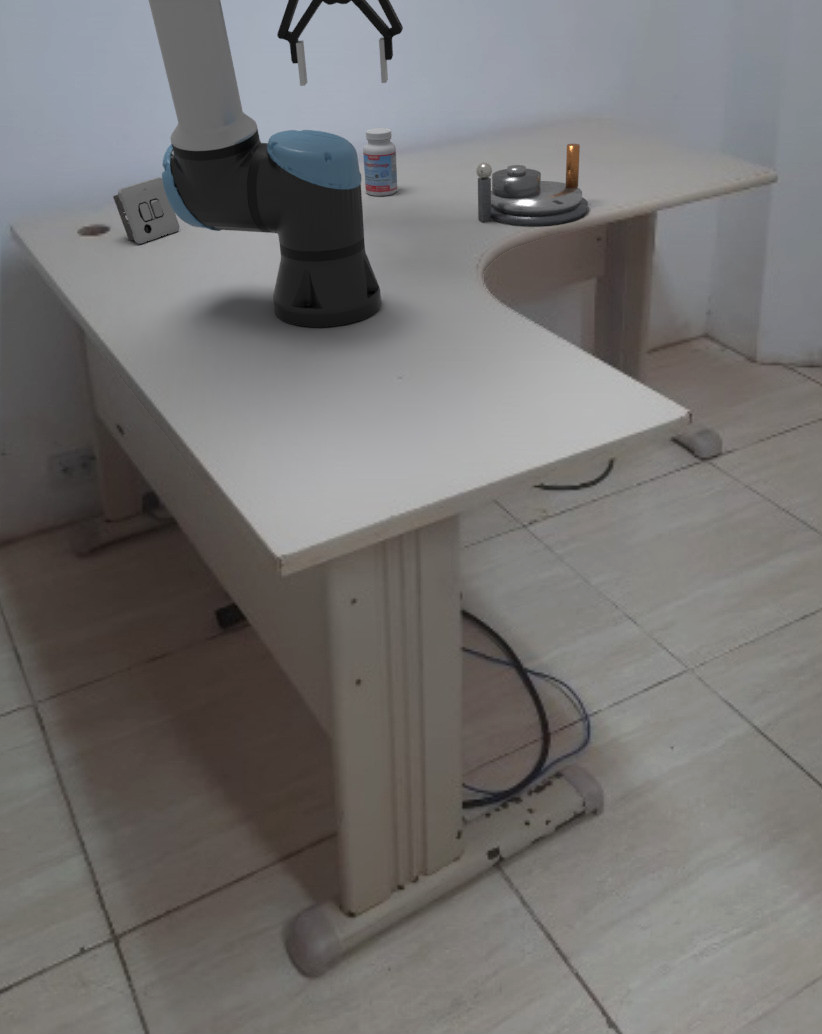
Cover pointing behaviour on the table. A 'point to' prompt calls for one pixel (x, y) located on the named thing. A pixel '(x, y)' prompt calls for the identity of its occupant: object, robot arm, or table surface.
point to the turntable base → (540, 217)
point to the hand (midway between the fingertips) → (344, 83)
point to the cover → (516, 182)
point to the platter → (548, 193)
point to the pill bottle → (380, 163)
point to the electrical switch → (146, 211)
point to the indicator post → (484, 192)
